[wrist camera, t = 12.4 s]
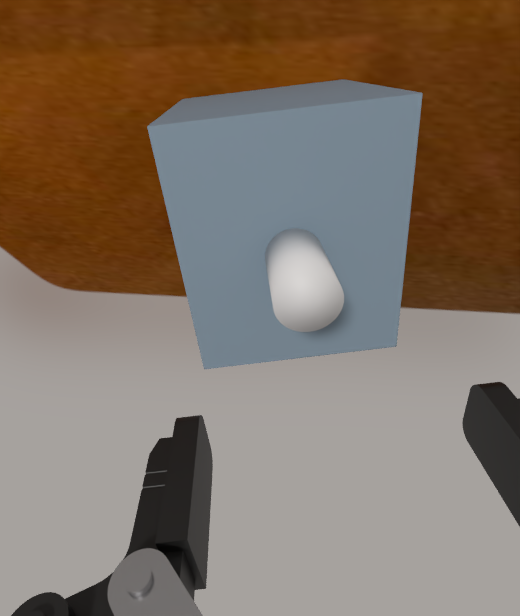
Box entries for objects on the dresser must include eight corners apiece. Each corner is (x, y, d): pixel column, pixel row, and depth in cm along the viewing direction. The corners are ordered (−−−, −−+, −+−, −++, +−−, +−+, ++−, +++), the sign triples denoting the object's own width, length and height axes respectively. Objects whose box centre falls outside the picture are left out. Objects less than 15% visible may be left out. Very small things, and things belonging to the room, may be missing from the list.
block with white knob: (343, 79, 31) (481, 103, 14) (342, 252, 38) (428, 402, 21) (182, 99, 31) (121, 146, 14) (213, 267, 38) (198, 430, 22)
